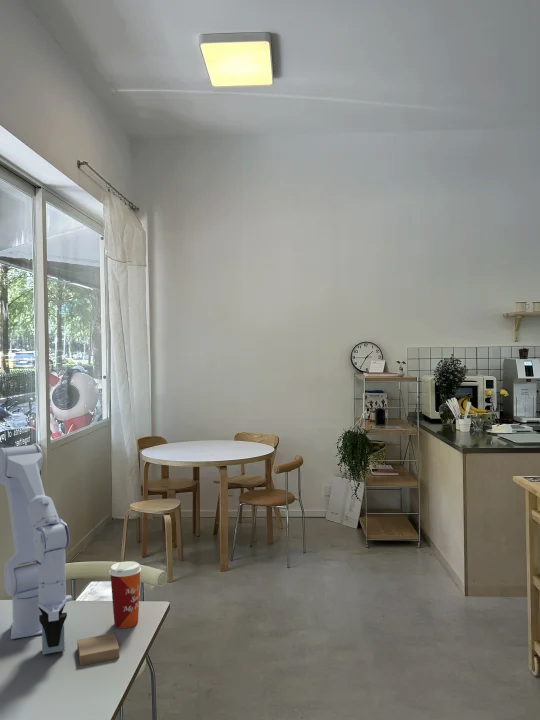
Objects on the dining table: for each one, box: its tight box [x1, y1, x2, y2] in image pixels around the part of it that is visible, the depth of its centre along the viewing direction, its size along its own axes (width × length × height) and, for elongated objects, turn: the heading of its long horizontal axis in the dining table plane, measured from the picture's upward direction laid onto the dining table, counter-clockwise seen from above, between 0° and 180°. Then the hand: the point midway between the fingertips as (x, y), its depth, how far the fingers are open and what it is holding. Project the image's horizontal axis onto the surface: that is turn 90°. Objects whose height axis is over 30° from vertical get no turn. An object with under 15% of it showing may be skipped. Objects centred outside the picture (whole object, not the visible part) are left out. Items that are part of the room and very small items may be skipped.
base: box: [77, 632, 120, 666], centre depth 128 cm, size 8×8×2 cm
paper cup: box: [108, 560, 142, 629], centre depth 143 cm, size 8×8×14 cm
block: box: [41, 623, 66, 655], centre depth 130 cm, size 4×4×6 cm
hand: (53, 641), depth 130 cm, fingers closed on block, 4 cm apart
